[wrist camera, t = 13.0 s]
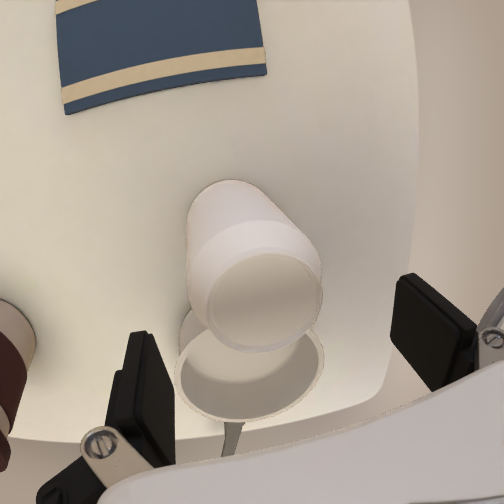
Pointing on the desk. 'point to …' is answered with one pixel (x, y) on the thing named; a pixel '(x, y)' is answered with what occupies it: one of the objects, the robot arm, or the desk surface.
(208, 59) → the towel
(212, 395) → the saucepan
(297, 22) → the desk surface
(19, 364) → the coffee cup
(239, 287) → the beverage can
